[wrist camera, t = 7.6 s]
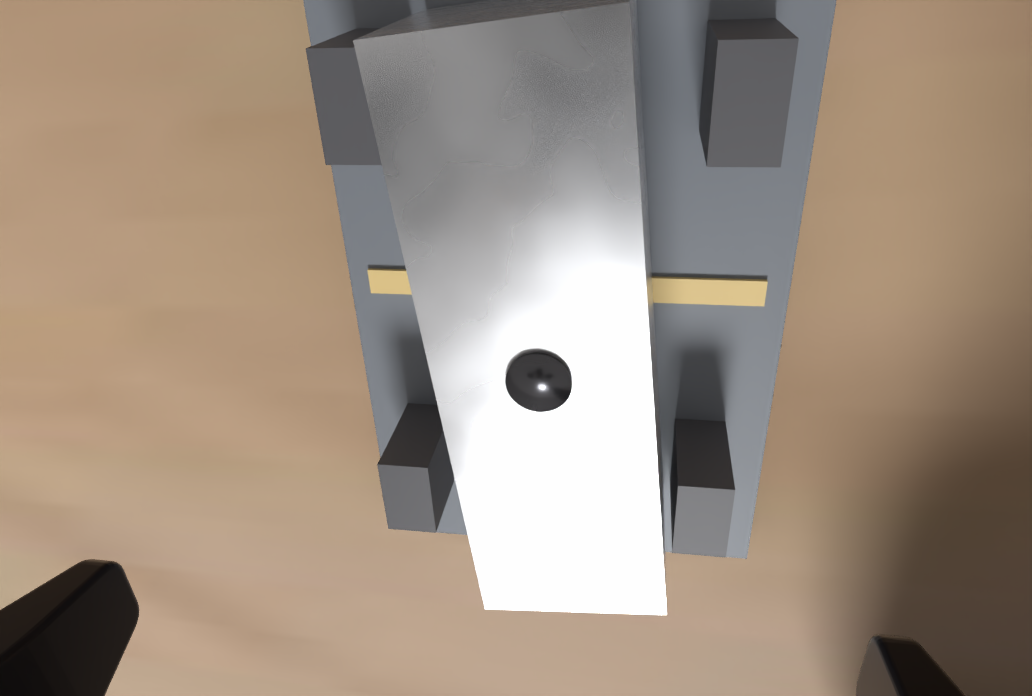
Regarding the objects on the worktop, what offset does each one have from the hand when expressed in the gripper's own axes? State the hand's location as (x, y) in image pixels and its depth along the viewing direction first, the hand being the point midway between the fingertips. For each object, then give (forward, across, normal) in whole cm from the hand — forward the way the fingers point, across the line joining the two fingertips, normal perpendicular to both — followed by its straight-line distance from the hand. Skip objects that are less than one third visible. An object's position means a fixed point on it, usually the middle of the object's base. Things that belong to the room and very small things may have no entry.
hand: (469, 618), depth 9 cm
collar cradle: (+10, 0, 0) cm, 10 cm away
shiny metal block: (+9, 0, 0) cm, 9 cm away
